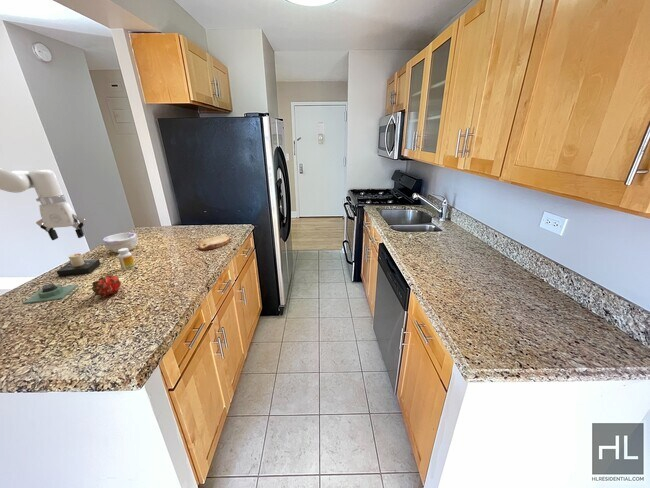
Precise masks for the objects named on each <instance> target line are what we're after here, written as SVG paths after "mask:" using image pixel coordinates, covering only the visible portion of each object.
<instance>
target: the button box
mask: <svg viewBox="0 0 650 488" xmlns="http://www.w3.org/2000/svg"><path fill="white" fill-rule="evenodd" d="M55 286H56V289H55V290H53V291H49V292H43V290H42V288H41V289H40V290H38V291H37V292H36V293H34V294H32V295H31V296H30V297H29V298H27V299H26V300H24V301H23V302H22V304H23V305H27V304H28V305H29V304H35V303H43V302H51V301H58V300H59V301H61V300H63V301H62V302H61V303H62V304H63V303H66V302H67V301H68V300H69V299H70V298H72V296H73V295H74V294H76V293H77V292H78V291H79V290H80V287H78V286H79V285H78V284H71V285H65V286H63V285H60V284H55ZM69 294H70V295H69ZM68 295H69V296H68Z"/></svg>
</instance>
